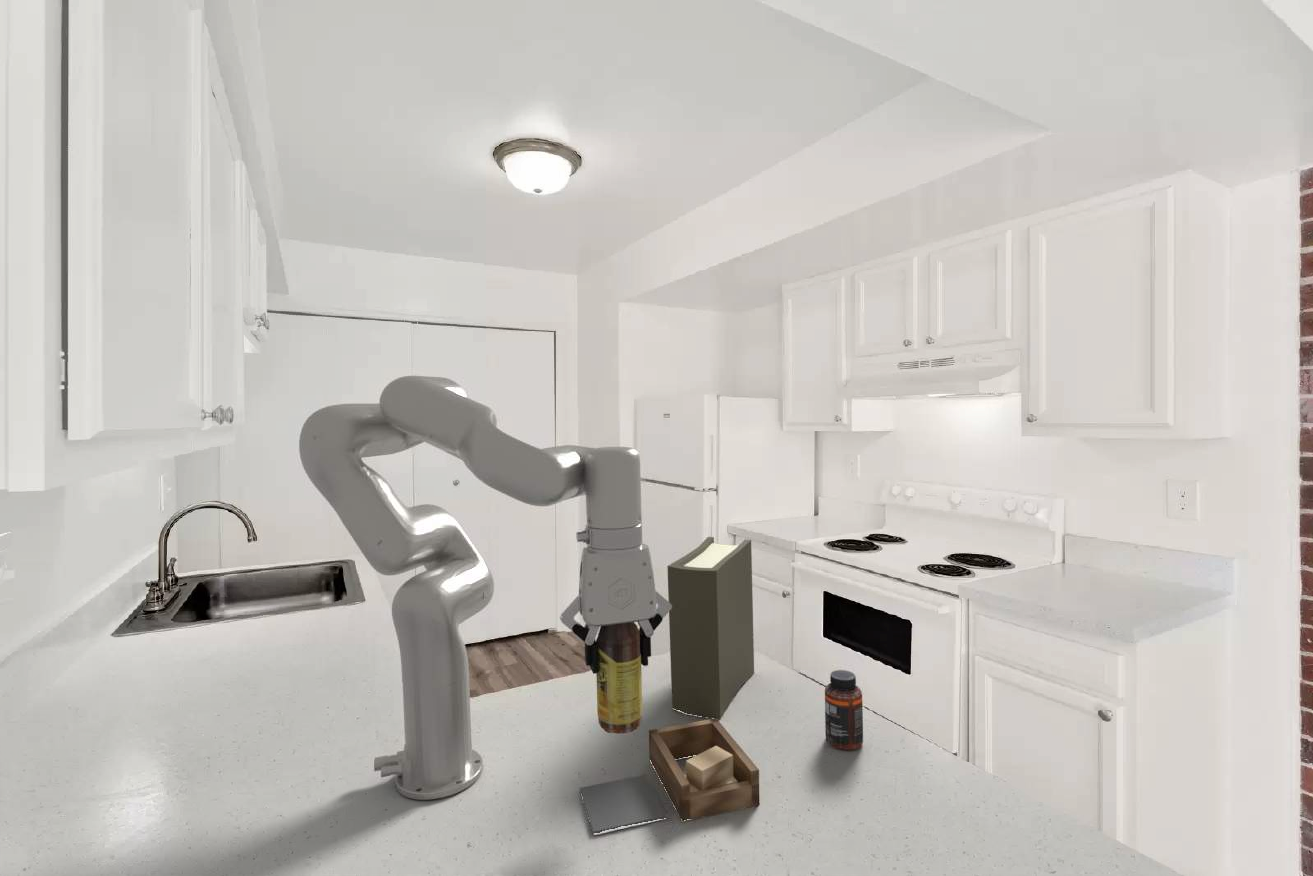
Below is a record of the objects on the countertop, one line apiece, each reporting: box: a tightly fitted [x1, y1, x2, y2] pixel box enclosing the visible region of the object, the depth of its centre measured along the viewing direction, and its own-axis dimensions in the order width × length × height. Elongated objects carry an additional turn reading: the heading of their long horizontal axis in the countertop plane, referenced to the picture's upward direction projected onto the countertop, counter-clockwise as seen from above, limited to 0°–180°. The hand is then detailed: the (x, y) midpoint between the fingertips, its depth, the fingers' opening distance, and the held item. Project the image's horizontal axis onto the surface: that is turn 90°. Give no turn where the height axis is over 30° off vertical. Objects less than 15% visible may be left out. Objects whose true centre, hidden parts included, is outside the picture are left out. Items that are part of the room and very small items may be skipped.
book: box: [667, 536, 755, 720], centre depth 123 cm, size 22×9×28 cm, turn 155°
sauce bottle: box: [595, 622, 643, 735], centre depth 88 cm, size 7×6×20 cm
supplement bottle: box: [824, 669, 864, 751], centre depth 104 cm, size 6×6×11 cm
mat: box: [579, 774, 668, 834], centre depth 89 cm, size 10×10×1 cm
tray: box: [648, 718, 760, 822], centre depth 94 cm, size 11×15×5 cm
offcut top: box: [685, 746, 733, 791], centre depth 91 cm, size 6×3×3 cm, turn 129°
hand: (618, 664), depth 88 cm, fingers closed on sauce bottle, 6 cm apart
